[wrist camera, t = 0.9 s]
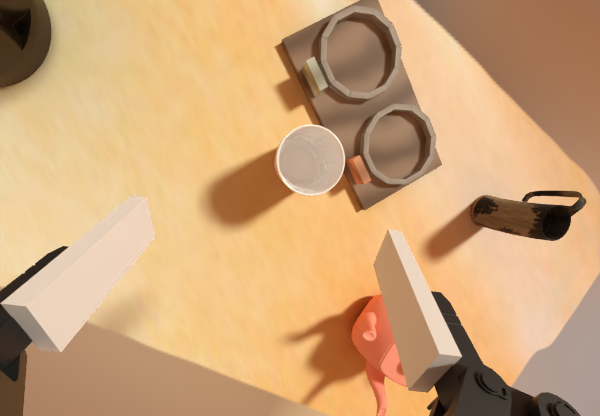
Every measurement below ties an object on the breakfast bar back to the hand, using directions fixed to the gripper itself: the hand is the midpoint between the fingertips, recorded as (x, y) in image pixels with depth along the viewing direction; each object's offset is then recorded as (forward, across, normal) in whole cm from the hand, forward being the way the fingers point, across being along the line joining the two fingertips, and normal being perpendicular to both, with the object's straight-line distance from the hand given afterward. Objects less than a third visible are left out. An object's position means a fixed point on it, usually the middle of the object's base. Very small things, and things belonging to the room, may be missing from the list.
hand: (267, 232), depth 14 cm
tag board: (+30, +11, +2) cm, 32 cm away
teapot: (+16, +19, -31) cm, 40 cm away
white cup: (+24, +1, -6) cm, 25 cm away
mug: (+28, +36, -11) cm, 47 cm away
